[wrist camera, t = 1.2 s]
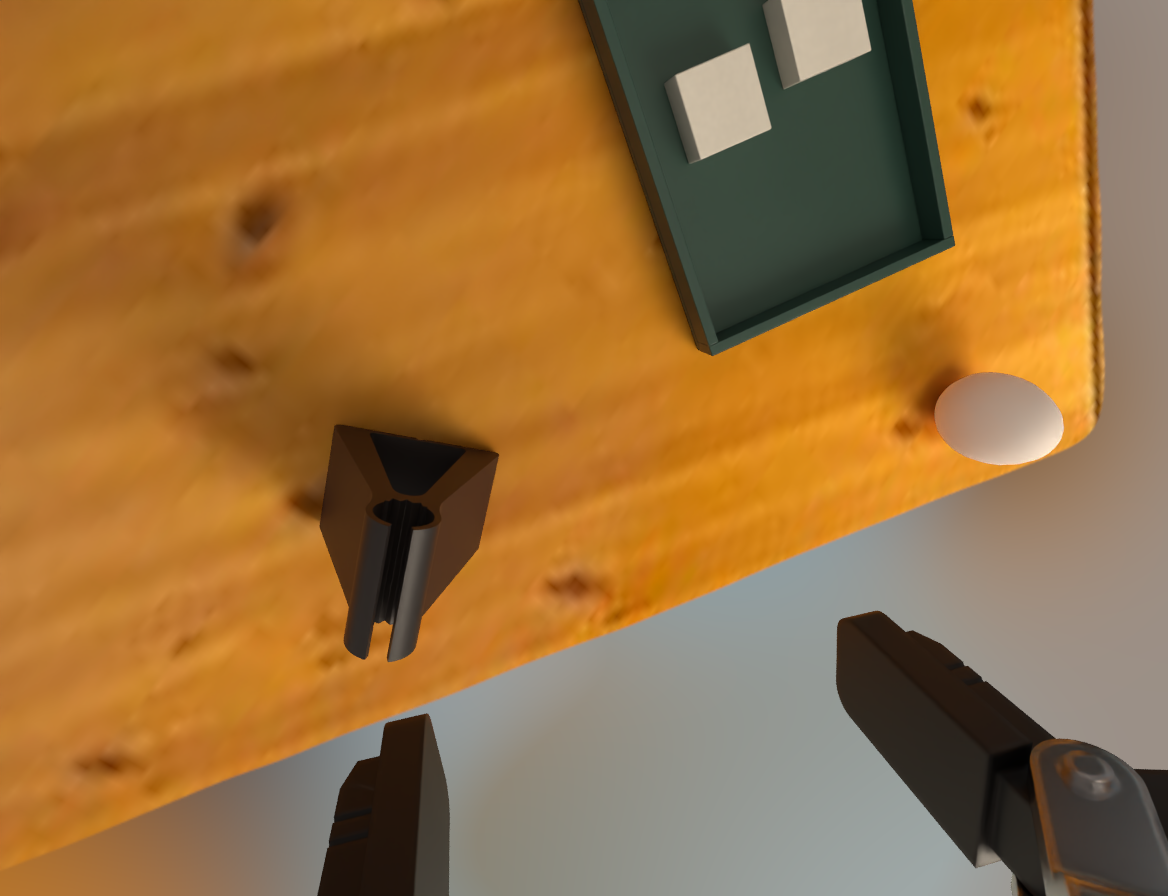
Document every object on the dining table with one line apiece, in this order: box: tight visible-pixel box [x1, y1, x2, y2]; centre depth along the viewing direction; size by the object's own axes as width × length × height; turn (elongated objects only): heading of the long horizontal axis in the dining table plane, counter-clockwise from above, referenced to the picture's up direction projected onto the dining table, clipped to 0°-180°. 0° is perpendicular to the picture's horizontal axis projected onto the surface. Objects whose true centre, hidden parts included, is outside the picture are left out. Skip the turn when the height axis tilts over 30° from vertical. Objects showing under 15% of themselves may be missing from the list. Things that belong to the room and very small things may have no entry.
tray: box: [578, 0, 955, 356], centre depth 33 cm, size 19×15×2 cm
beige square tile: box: [664, 43, 771, 164], centre depth 32 cm, size 4×4×2 cm
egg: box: [934, 372, 1064, 465], centre depth 37 cm, size 5×5×8 cm
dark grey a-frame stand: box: [320, 425, 499, 662], centre depth 30 cm, size 9×6×12 cm, turn 76°
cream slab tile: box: [762, 0, 871, 89], centre depth 31 cm, size 4×4×2 cm
